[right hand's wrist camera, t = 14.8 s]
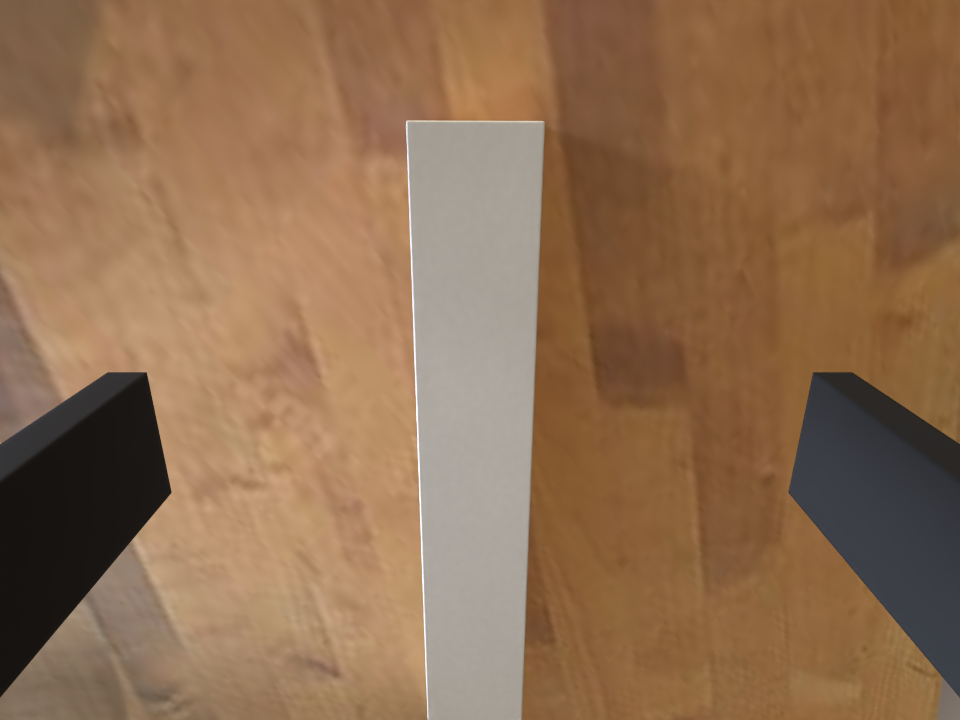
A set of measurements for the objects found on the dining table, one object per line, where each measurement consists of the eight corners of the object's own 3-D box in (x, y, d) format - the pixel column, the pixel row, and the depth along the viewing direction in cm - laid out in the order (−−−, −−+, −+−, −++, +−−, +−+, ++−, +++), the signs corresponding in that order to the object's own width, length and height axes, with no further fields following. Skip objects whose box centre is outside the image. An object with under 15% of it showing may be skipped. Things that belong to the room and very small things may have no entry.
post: (422, 121, 30) (405, 120, 23) (530, 121, 30) (545, 120, 23) (443, 902, 51) (438, 1022, 45) (506, 902, 51) (510, 1022, 45)
